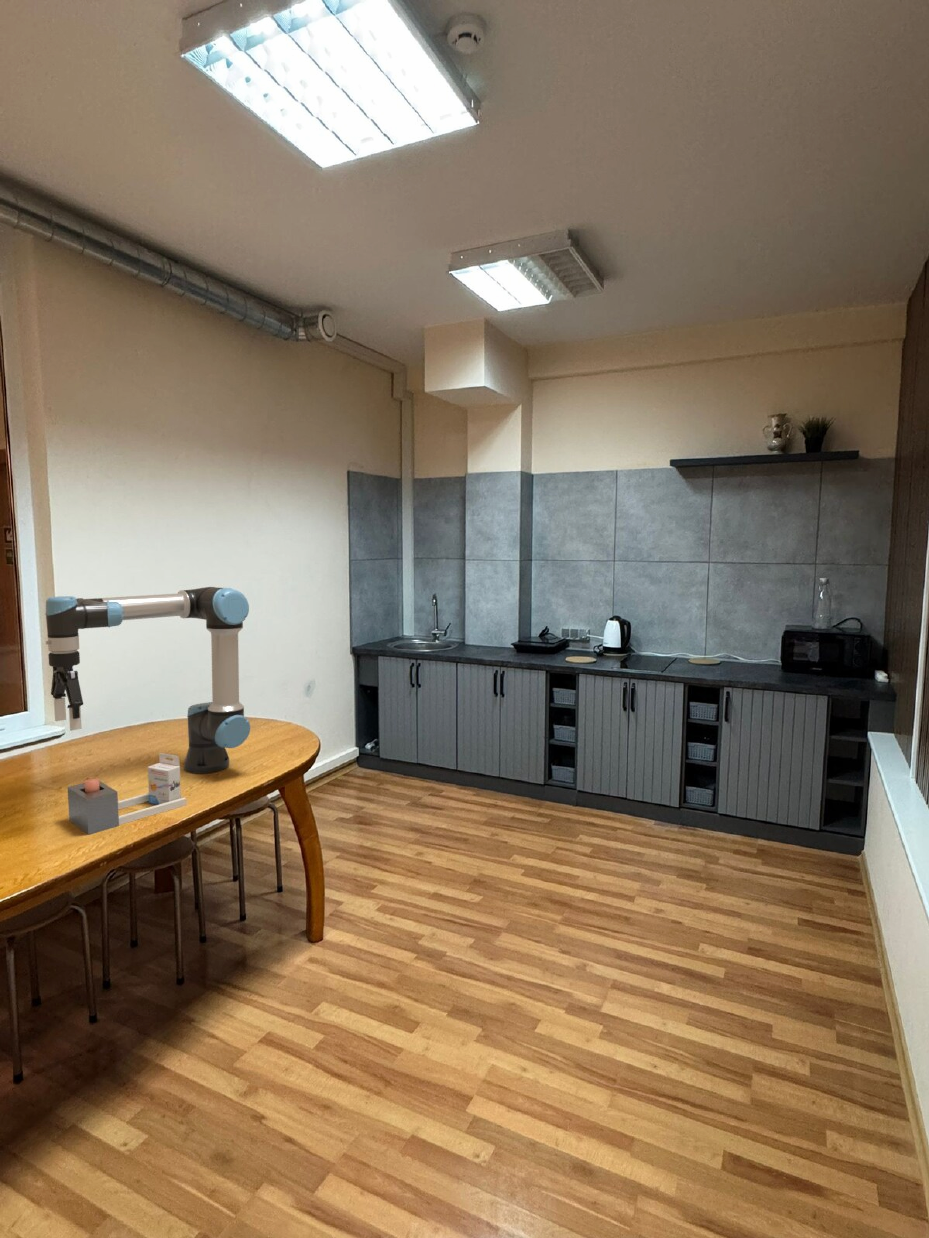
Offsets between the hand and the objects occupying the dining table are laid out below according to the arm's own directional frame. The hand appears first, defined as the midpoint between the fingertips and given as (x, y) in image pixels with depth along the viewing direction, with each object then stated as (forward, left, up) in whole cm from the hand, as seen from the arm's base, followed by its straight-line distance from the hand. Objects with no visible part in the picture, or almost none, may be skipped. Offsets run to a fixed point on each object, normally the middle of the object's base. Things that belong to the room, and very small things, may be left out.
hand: (68, 724), depth 190 cm
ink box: (-23, +9, -28) cm, 37 cm away
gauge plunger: (-2, +8, -20) cm, 22 cm away
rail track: (-16, +8, -28) cm, 33 cm away
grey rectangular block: (-2, +8, -28) cm, 29 cm away
